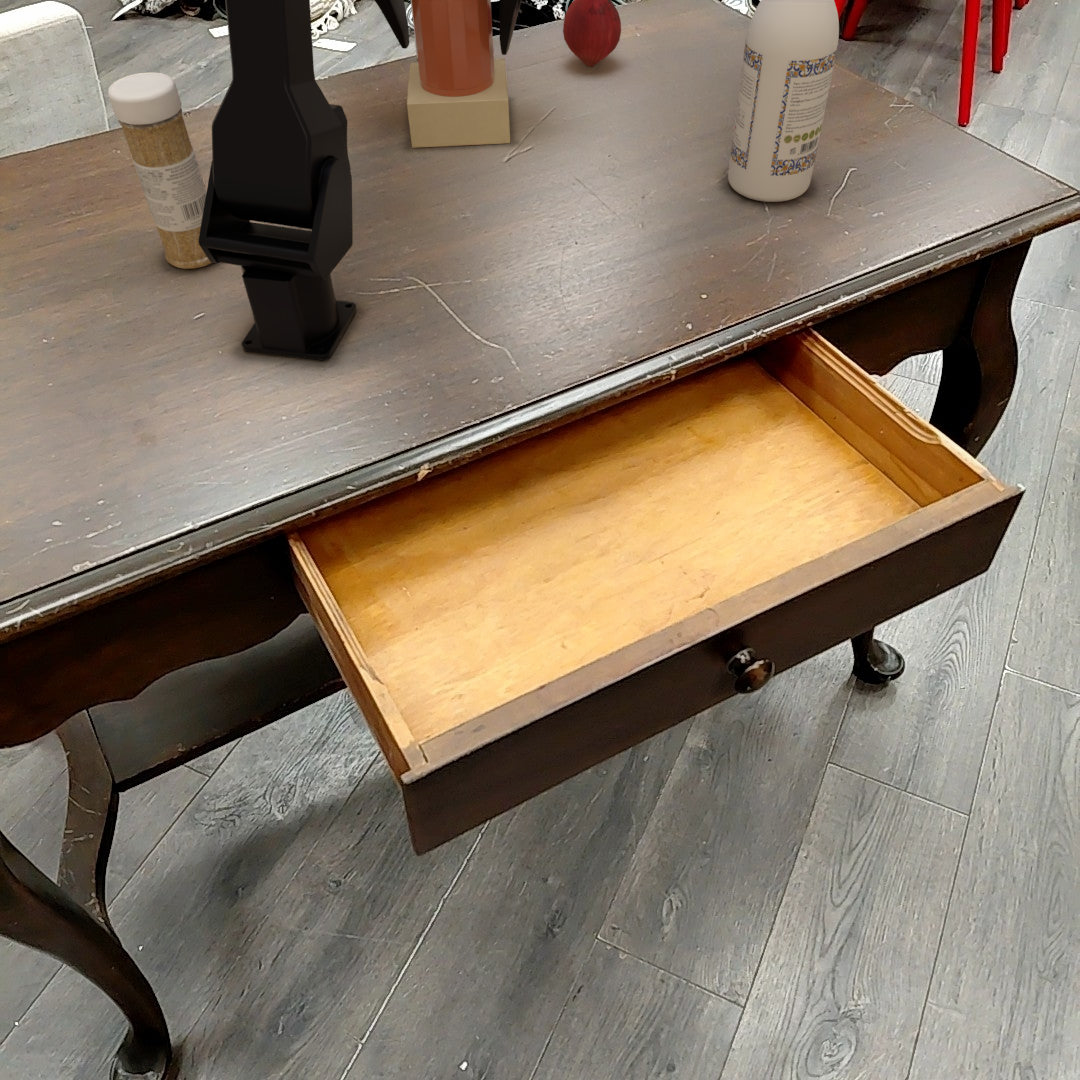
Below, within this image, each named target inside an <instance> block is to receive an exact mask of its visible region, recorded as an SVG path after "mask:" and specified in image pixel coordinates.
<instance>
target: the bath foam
mask: <svg viewBox="0 0 1080 1080" xmlns="http://www.w3.org/2000/svg"><path fill="white" fill-rule="evenodd" d="M839 37H840V22H839V13H838V9H837V6H836V2H835V0H760V1H759V3H758V4H757V7H756V8H755V10H754V12H753V14H752V17H751V19H750V22H749V25H748V29H747V33H746V37H745V42H744V50H743V57H742V66H741V72H740V81H739V86H738V87H739V88H738V96H737V103H736V110H735V118H734V125H733V134H732V141H731V148H730V157H729V165H728V173H727V179H728V184H729V186H731V188H732V189H733V190H734V192H736V193H738V194H740V195H741V196H743V197H745V198H748V199H751V200H754V201H760V202H764V203H765V202H766V203H781V202H787V201H790V200H794V199H797V198H798V197H800V196H802V195H803V194H804V193H806V192H807V190H808V189H809V187H810V185H811V182H812V176H813V172H814V166H815V161H816V158H817V152H818V148H819V142H820V137H821V132H822V127H823V122H824V118H825V113H826V108H827V102H828V97H829V92H830V88H831V83H832V77H833V74H834V68H835V63H836V57H837V52H838V48H839V39H840V38H839Z"/></svg>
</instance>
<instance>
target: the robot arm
mask: <svg viewBox="0 0 1080 1080" xmlns="http://www.w3.org/2000/svg"><path fill="white" fill-rule="evenodd" d="M224 1H225V11H226V22H227V23H226V24H227V31H228V41H229V53H230V62H231V76H232V77H231V78H232V79H231V82H230V83H229V86H228V88H227V90H226V92H225V95H224V96H223V99H222V101H221V102H220V105H219V107H218V109H217V112H216V114H215V116H214V118H213V120H212V124H211V150H212V151H211V155H212V156H211V157H212V158H211V159H212V160H211V164H210V170H209V175H208V182H207V188H206V199H205V204H204V210H203V216H202V222H201V228H200V234H199V245H200V247H201V248H202V250H203V251H204V253H205V254H206V256H207V257H208V259H209V261H210V262H212V263H211V264H220V263H221V264H227V265H234V266H240V267H241V272H242V275H241V277H242V281H243V285H244V288H245V292H246V295H247V299H248V301H249V305H250V310H251V312H252V317H253V320H254V323H253V325H252V326H251V327H250V330H249V331H248V332H247V334H246V335H245V337H244V338H243V340H242V341H241V346H242V350H243V351H244V352H247V353H256V354H264V355H273V356H282V357H291V358H298V359H299V358H300V359H308V360H317V361H326V360H328V359H330V358H331V356H332V354H333V353H334V352H335V349H336V348H337V346H338V344H339V342H340V340H341V339H342V337H343V335H344V333H346V330H347V328H348V326H349V324H351V321H352V319H353V318H354V315H356V312H357V306H356V303H354V302H353V301H345V300H337V299H336V294H335V290H334V285H333V281H332V275H331V273H332V272H333V271H334V270H335V268H337V266H338V264H339V263H340V262H341V261H342V259H343V258H344V257H345V255H346V254H347V253H348V252H349V251H350V249H352V246H353V244H354V242H353V241H354V240H353V239H354V238H353V236H354V235H353V233H354V232H353V229H354V228H353V225H354V224H353V179H352V172H351V171H352V170H351V167H352V166H351V163H350V158H349V152H348V151H349V149H348V118H347V115H346V113H345V110H344V108H343V106H342V105H340V104H333V103H329V101H328V99H327V97H326V96H325V94H324V92H323V91H322V89H321V87H320V86H319V84H318V82H317V81H316V77H315V67H314V52H313V49H314V47H313V31H312V17H311V16H312V15H311V14H312V13H311V0H224ZM522 1H523V0H499V46H500V53H501V55H504V56H506V55H507V54H508V52H509V49H510V46H511V41H512V38H513V34H514V30H515V26H516V23H517V19H518V15H519V12H520V8H521V4H522ZM374 2H375V4H376V5H377V6H378V8H379V10H380V11H381V13H382V15H383V17H384V19H385V20H386V22H387V24H388V25H389V27H390V30H391V31H392V33H393V34H394V36H395V38H396V40H397V42H398V44H399V46H400V47H401V48H402V49H407V48H408V47H409V46H410V30H409V21H408V16H407V10H406V5H405V0H374Z"/></svg>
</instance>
